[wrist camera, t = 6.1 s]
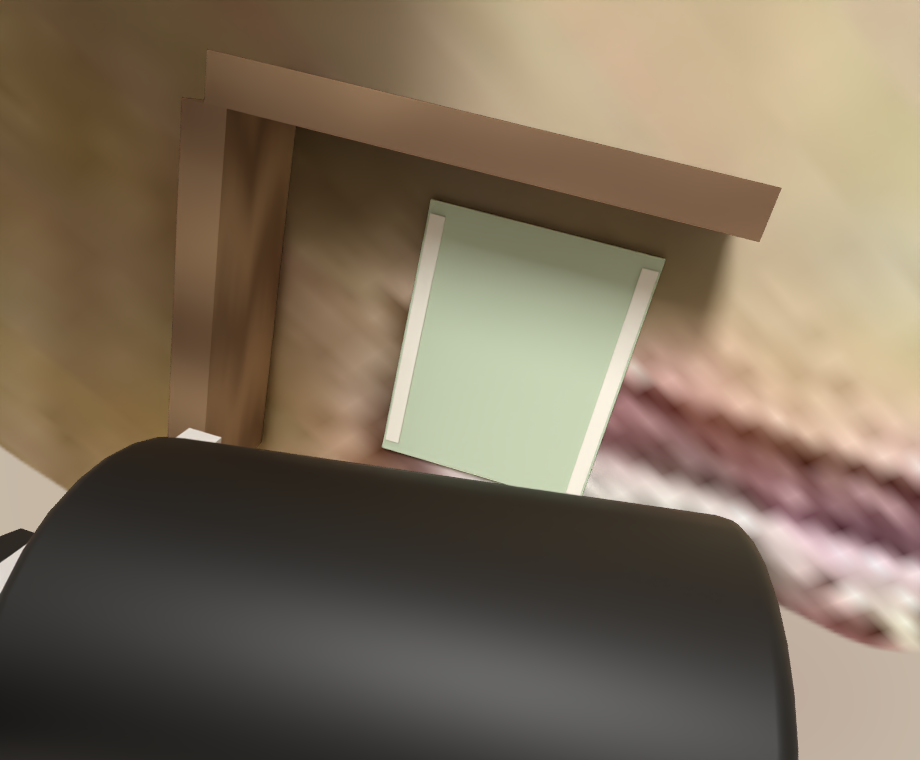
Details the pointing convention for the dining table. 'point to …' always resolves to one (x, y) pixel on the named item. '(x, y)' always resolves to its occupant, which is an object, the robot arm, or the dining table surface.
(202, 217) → the brown l-shaped piece
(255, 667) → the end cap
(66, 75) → the dining table surface
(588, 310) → the pad
